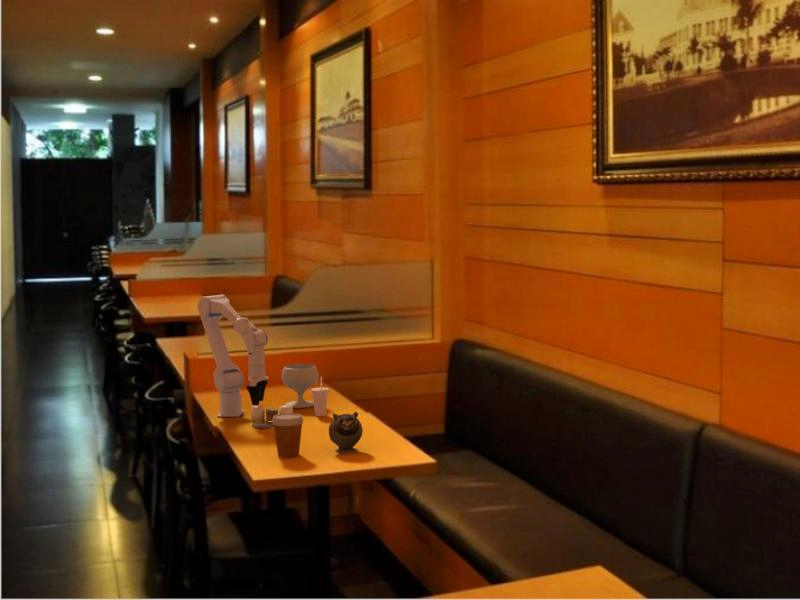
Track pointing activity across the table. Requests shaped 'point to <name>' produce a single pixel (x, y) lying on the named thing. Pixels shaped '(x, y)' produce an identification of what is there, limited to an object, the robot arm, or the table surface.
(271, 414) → the walnut block
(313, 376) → the chalice
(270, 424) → the slate coaster
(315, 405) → the smoothie
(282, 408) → the cream small rounded lump
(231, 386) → the robot arm
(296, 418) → the disposable coffee cup
